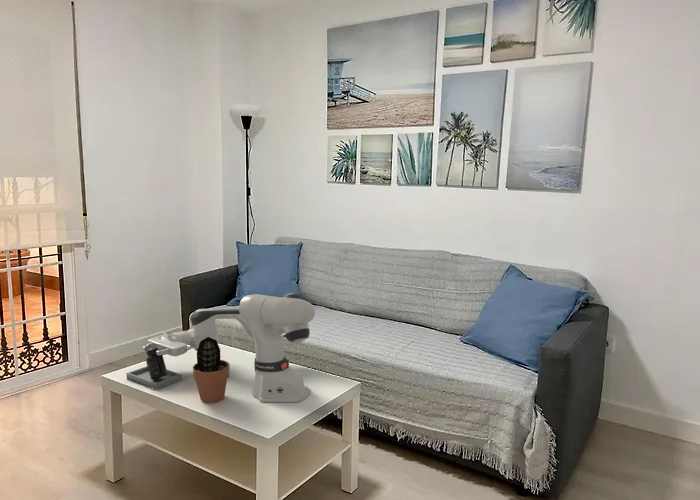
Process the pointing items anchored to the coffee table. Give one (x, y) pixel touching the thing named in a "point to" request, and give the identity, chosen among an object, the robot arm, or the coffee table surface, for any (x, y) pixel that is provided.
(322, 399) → the coffee table surface
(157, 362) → the supplement bottle
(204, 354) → the potted plant
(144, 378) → the grey serving tray
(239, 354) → the coffee table surface
